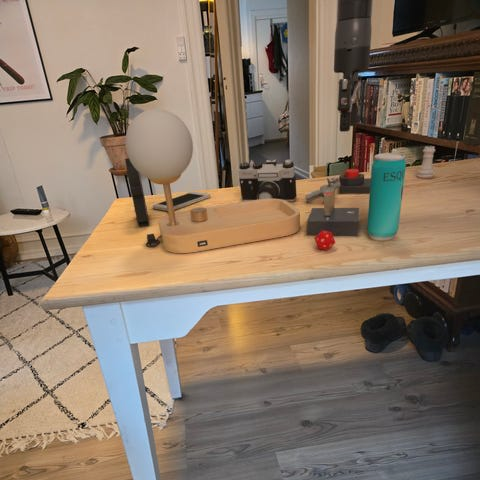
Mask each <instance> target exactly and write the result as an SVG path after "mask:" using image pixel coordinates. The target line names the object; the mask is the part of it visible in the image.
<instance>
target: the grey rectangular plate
mask: <svg viewBox="0 0 480 480" xmlns="http://www.w3.org/2000/svg"><path fill="white" fill-rule="evenodd" d="M323 202H324V203H323V208H324V217H331V215H332V212H333V210H334V208H336V207H335V206H336V205H335V203H336V190H335V187H329V188H328V189H327V191H326V193H325V195H324V198H323Z"/></svg>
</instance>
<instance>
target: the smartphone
mask: <svg viewBox="0 0 480 480" xmlns="http://www.w3.org/2000/svg"><path fill="white" fill-rule="evenodd" d="M209 198H211V193H206V192H199V191H190V192H188V193H185V194H181V195H179V196H176V197H172V201H173V207H174V211H175V210H178V209H181V208H184V207H186V206H188V205H192V204H195V203H197V202H201V201H203V200H206V199H209ZM152 208H153V209H154V210H160V211H165V212H168V210H167V205H166V200H164V201H160V202H158V203H155V204H153V205H152Z"/></svg>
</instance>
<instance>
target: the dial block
mask: <svg viewBox="0 0 480 480" xmlns="http://www.w3.org/2000/svg"><path fill="white" fill-rule="evenodd" d="M304 214H309V215H308V218H307V220H306V236H317V235H318V234H319V233H320V232H321V231H322V230H325V231H329V232H332V234H333V236H337V237H339V236H342V237H343V236H344V237H345V236H347V237H357V236H358V234H359V233H358V232H359V217H360V207H335V208H334V210H333V212H332V215H331V217H324V207H312V208H311V210H310V211H304Z"/></svg>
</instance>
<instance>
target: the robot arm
mask: <svg viewBox="0 0 480 480" xmlns="http://www.w3.org/2000/svg"><path fill="white" fill-rule="evenodd" d="M372 14H373V0H337V5H336V26H335V31H334V47H333V48H334V53H333V54H334V55H333V71H334V73H335V74H341V73H342V78H340V79H339V80H338V98H337V106H336V107H337V108H336V109H337V112H338V113H339V132H341V133H342V132H344V133H345V132H350V130H351V127H355V126H356V125H357V117H358V108H359V105H360V102H361V100H360V99H361V85H362V76H361V74H360V75H359V72H365V71H368V70H369V68H370V60H371V59H370V58H371V45H372V16H373V15H372Z"/></svg>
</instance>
